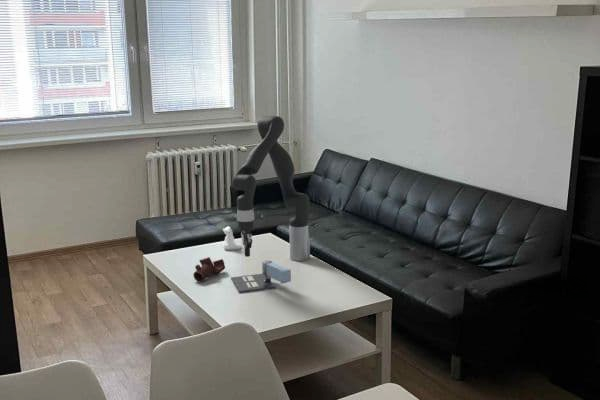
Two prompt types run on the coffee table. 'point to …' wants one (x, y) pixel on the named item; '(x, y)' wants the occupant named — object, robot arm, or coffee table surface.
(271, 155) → the robot arm
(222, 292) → the coffee table surface
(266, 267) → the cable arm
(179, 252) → the coffee table surface
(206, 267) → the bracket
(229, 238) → the sitting furry creature
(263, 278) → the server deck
